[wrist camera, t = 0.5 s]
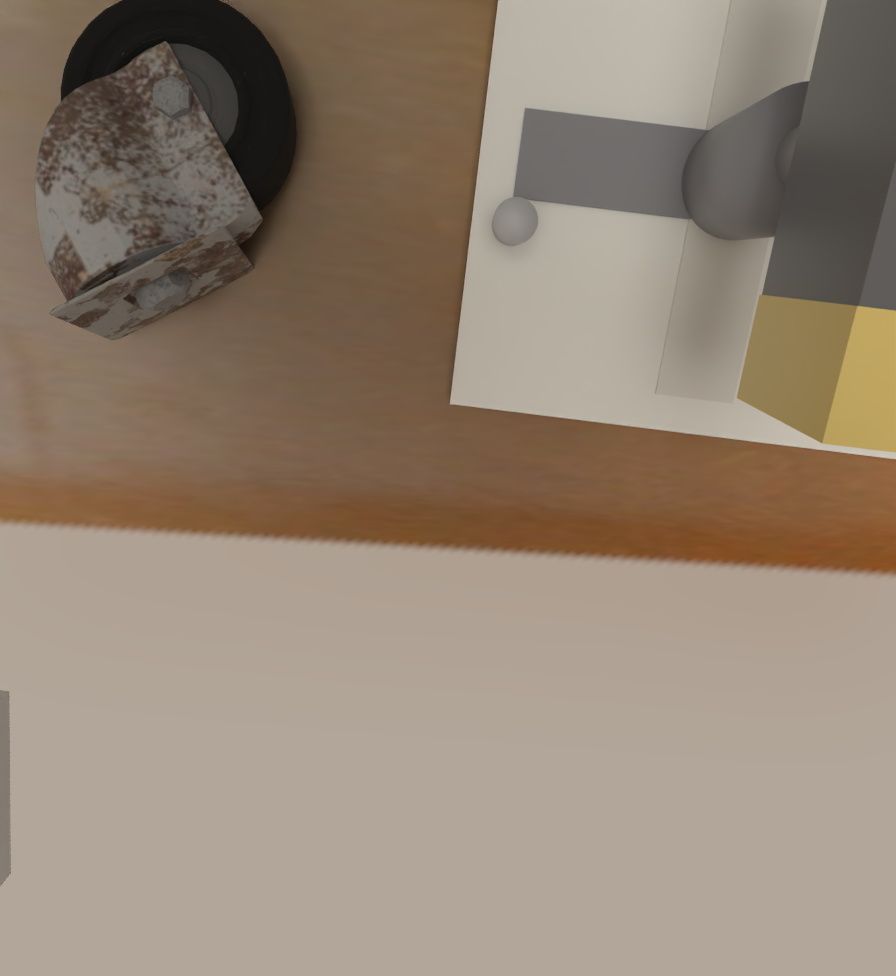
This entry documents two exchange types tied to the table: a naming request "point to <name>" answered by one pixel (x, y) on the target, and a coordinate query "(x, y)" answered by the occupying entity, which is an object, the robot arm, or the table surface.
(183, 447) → the table surface
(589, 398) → the base plate
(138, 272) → the caster wheel
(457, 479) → the table surface
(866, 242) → the grey yellow rectangular block
